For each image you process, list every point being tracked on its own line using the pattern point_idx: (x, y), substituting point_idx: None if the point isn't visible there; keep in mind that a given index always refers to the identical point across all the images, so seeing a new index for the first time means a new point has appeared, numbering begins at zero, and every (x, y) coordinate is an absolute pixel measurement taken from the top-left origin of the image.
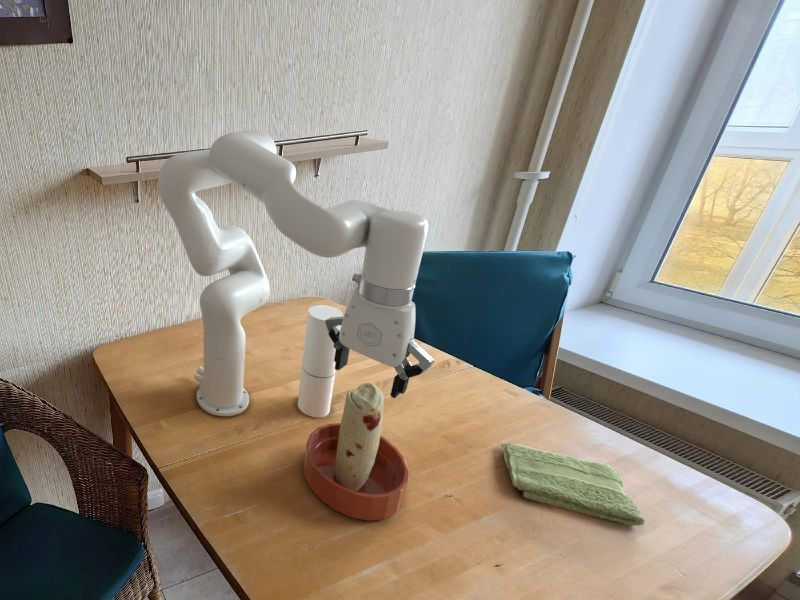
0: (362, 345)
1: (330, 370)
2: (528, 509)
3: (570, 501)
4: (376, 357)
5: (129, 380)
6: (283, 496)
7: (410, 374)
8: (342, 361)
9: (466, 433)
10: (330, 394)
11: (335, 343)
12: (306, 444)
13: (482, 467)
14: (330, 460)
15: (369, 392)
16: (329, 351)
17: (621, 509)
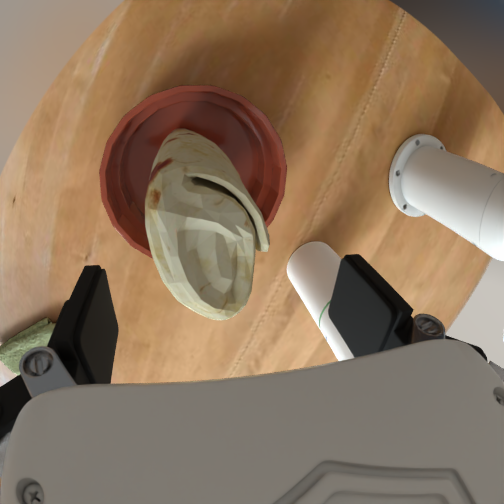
0: (365, 436)
1: (330, 319)
2: (38, 305)
3: (21, 338)
4: (184, 409)
5: (496, 126)
6: (256, 58)
7: (17, 388)
8: (354, 297)
9: (135, 365)
10: (302, 291)
11: (443, 331)
12: (279, 137)
13: None
14: None
15: (208, 273)
16: None
17: (2, 354)
